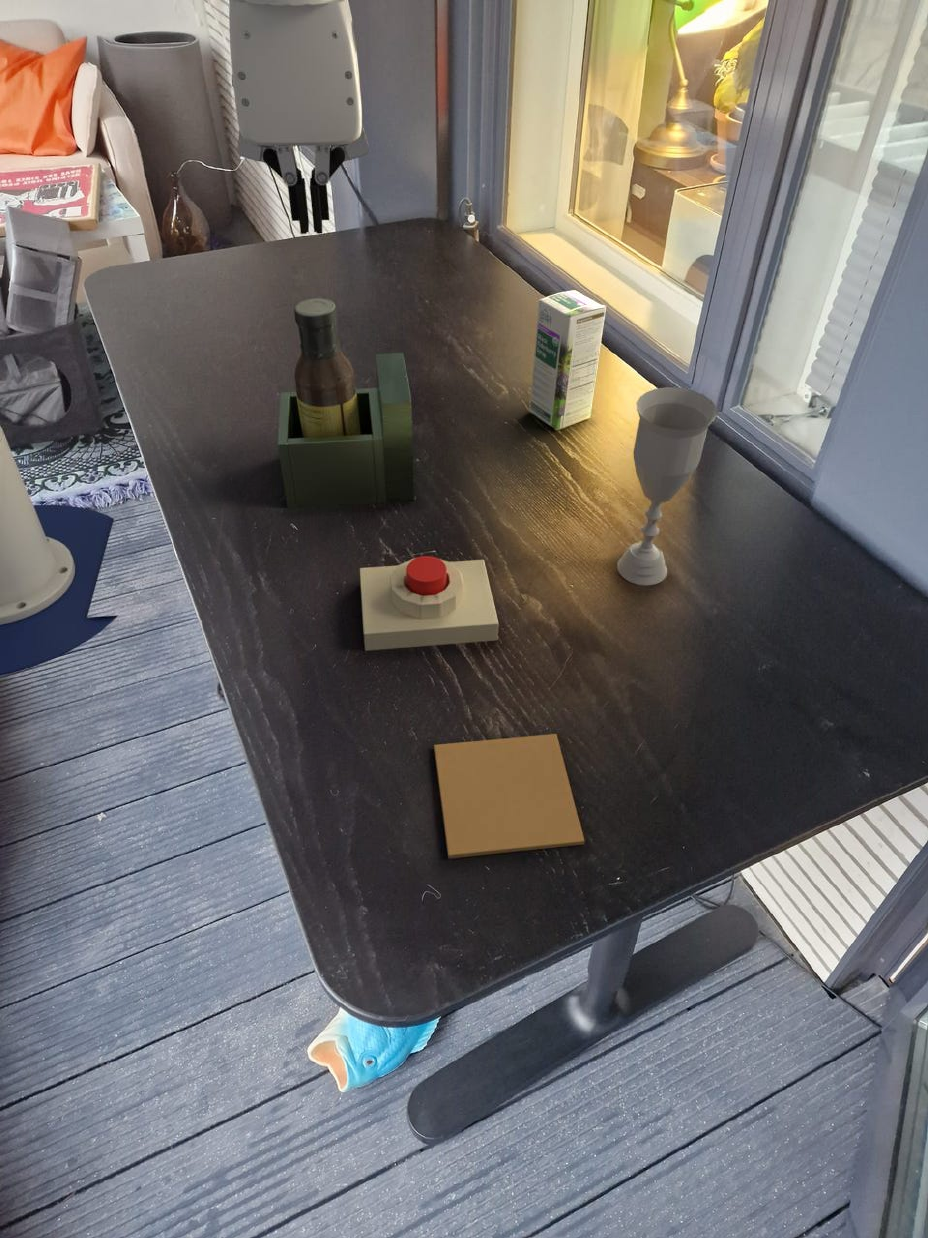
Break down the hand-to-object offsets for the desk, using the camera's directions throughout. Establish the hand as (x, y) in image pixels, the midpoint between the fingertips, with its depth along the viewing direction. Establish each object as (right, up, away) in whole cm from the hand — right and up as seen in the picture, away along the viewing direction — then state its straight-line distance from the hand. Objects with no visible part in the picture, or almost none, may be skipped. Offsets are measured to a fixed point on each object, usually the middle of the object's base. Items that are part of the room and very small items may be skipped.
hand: (311, 227), depth 77 cm
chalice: (+32, -30, +9) cm, 45 cm away
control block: (+10, -35, +3) cm, 36 cm away
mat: (+17, -49, -11) cm, 53 cm away
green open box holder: (+1, -19, +19) cm, 27 cm away
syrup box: (+26, -10, +30) cm, 41 cm away
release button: (+10, -32, +1) cm, 34 cm away
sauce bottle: (-1, -20, +19) cm, 27 cm away
